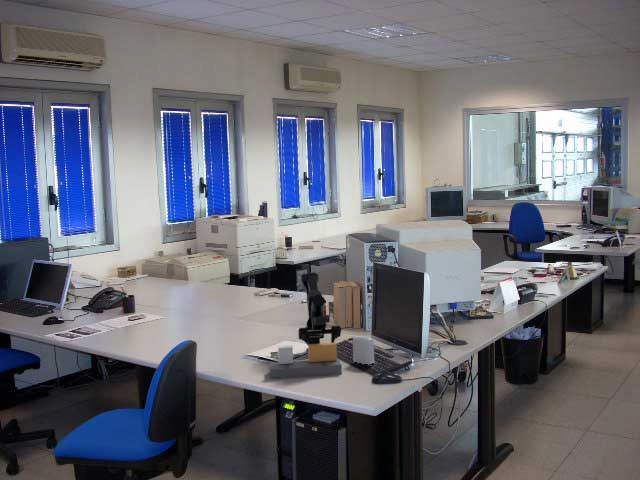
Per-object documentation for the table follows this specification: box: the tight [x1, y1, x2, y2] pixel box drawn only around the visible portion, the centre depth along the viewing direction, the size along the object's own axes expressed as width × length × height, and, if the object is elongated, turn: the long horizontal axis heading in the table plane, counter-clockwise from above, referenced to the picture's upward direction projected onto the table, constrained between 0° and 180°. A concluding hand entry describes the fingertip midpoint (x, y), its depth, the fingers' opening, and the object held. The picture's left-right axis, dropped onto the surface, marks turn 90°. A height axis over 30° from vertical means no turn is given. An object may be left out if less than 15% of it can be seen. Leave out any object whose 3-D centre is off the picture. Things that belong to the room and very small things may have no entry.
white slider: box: [277, 345, 294, 364], centre depth 294 cm, size 3×6×7 cm, turn 97°
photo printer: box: [352, 335, 375, 366], centre depth 304 cm, size 10×4×12 cm, turn 47°
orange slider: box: [307, 342, 338, 362], centre depth 296 cm, size 3×12×7 cm, turn 97°
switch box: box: [268, 358, 343, 380], centre depth 293 cm, size 10×30×4 cm, turn 97°
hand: (321, 348), depth 299 cm, fingers open, 9 cm apart
